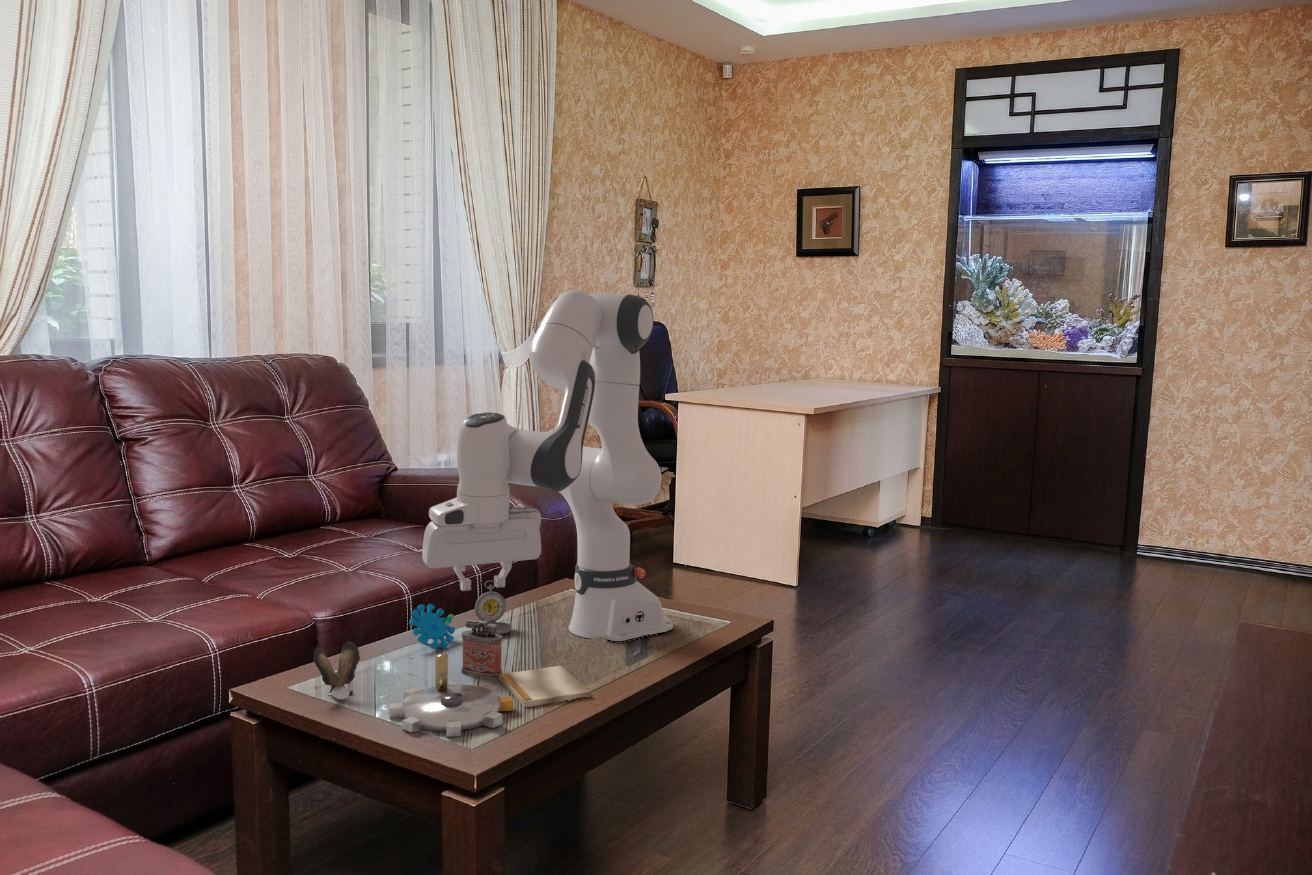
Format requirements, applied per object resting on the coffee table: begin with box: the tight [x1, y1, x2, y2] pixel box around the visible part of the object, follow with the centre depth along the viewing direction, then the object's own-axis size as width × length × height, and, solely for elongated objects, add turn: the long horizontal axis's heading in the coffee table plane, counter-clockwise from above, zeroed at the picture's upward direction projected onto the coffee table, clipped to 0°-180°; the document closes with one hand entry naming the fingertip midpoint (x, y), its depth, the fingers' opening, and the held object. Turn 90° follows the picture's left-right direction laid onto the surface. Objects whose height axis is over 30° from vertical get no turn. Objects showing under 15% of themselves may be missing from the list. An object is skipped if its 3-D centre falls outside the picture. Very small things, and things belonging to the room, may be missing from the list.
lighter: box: [461, 619, 503, 680], centre depth 186 cm, size 8×3×10 cm, turn 70°
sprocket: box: [388, 652, 514, 738], centre depth 168 cm, size 20×20×8 cm
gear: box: [408, 603, 456, 650], centre depth 203 cm, size 11×6×10 cm
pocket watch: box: [474, 579, 513, 635], centre depth 212 cm, size 8×8×10 cm
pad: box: [498, 665, 591, 708], centre depth 180 cm, size 12×14×1 cm
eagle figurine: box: [313, 640, 361, 701], centre depth 173 cm, size 8×7×9 cm
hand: (482, 588), depth 174 cm, fingers open, 5 cm apart
